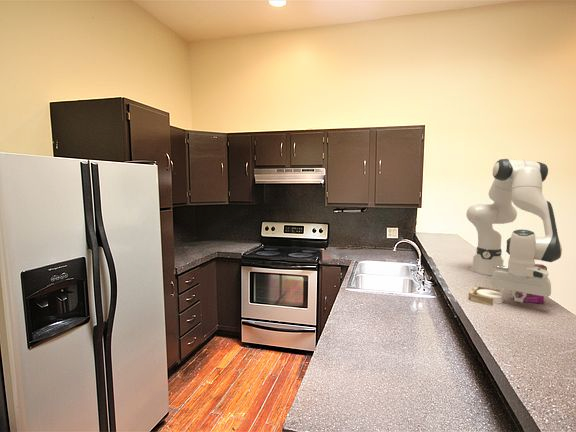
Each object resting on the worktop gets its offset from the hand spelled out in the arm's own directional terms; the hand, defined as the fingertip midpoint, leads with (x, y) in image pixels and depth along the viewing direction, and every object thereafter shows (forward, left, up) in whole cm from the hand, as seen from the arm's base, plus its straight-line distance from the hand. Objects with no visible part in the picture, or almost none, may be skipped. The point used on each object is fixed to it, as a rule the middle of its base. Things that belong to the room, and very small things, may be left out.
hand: (518, 301), depth 133 cm
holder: (0, -17, -2) cm, 17 cm away
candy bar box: (-9, +2, -2) cm, 10 cm away
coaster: (0, -11, -2) cm, 11 cm away
